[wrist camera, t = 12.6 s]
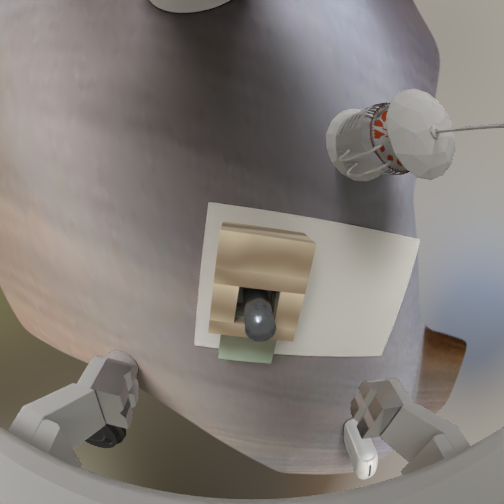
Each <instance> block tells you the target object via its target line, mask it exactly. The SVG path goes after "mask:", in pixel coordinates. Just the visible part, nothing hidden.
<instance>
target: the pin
mask: <svg viewBox="0 0 504 504" xmlns="http://www.w3.org/2000/svg"><path fill="white" fill-rule="evenodd" d="M242 291H243V307H244V322H245V333H246V335H247V336H248V337H249V338H250V339H251V340H253V341H257V342H263V341H267V340H269V339H270V338H272V337H273V336H274V334H275V332H276V323H275V319H274V315H273V312H272V308H271V304H270V300H269V297H268V293H267V290H262V289H254V288H246V287H242Z"/></svg>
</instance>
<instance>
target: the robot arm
mask: <svg viewBox="0 0 504 504" xmlns="http://www.w3.org/2000/svg"><path fill="white" fill-rule="evenodd" d="M228 1H230V0H150V2H151V3H152V4H153V5H155V6H156V7H158V8H160V9H162V10H165V11H169V12H176V13H189V12H198V11H203V10H208V9H211V8H214V7H217V6H220V5H222V4H224V3H226V2H228ZM136 375H137V368H136V365H134V364H130V363H126V362H122V361H118V360H114V359H111V358H106V357H103V356H99V355H95V356H93V358H92V359H91V361H90V362H89V364H88V366H87V367H86V369H85V371H84V373H83V374H82V376H81V378H80V379H79V381H78V383H77V384H75V383H72V384H70V385H68V386H66V387H64V388H62V389H59V390H57V391H55V392H53V393H51V394H49V395H47V396H44V397H42V398H40V399H38V400H36V401H34V402H32V403H29V404H27V405H25V406H23V407H22V409H21V410H20V412H19V414H18V415H17V417H16V418H15V420H14V422H13V423H12V425H11V427H10V428H9V430H8V431H6V430H4V429H3V428H1V427H0V504H504V427H502V428H501V429H499V430H498V431H496V432H494V433H493V434H491V435H490V436H488V437H486V438H485V439H483V440H481V441H479V442H477V443H476V444H474V445H472V446H470V445H469V443H468V441H467V440H466V439H465V437H464V435H463V434H462V432H461V431H460V429H459V428H458V426H456V425H454V424H452V423H450V422H449V421H447V420H445V419H443V418H441V417H440V416H438V415H436V414H435V413H433V412H431V411H429V410H428V409H426V408H424V407H422V406H421V405H419V404H414V402H413V401H412V399H411V398H410V396H409V394H408V393H407V391H406V390H405V388H404V387H403V385H402V384H401V382H400V381H399V380H398V379H397V378H391V379H382V380H372V381H364V382H363V383H361V385H360V387H359V391H360V392H359V393H358V394H357V395H355V396H354V398H353V400H352V402H351V414H352V417H353V419H355V420H356V421H358V424H357V429H358V431H359V434H360V436H361V439H366V438H372V437H378V436H380V438H381V439H382V440H383V441H385V442H386V443H387V444H388V445H389V446H390V447H392V448H393V449H394V450H395V451H396V452H397V453H399V454H400V455H401V456H402V457H403V458H404V459H406V460H407V461H408V462H409V463H408V464H407V465H406V466H405V467H404V468H403V469H402V471H401V473H402V476H399V477H396V478H393V479H389V480H386V481H383V482H379V483H375V484H371V485H367V486H363V487H359V488H355V489H350V490H345V491H340V492H334V493H328V494H321V495H314V496H306V497H296V498H284V499H259V500H247V499H244V500H243V499H219V498H207V497H198V496H188V495H182V494H176V493H170V492H164V491H159V490H154V489H149V488H145V487H140V486H136V485H132V484H128V483H125V482H121V481H118V480H114V479H111V478H108V477H105V476H102V475H99V474H96V473H93V472H90V471H87V470H85V469H82V468H81V465H82V463H81V461H80V460H79V458H78V457H77V455H76V454H75V452H74V450H73V449H74V448H76V447H77V446H78V445H80V444H81V443H82V442H84V441H85V440H86V439H88V438H89V437H90V436H92V435H93V434H94V433H96V432H97V431H98V430H100V429H101V428H102V427H104V426H105V425H106V424H110V425H114V426H118V427H122V428H126V429H129V426H130V423H131V419H132V417H133V413H132V408H134V407H135V406H136V404H137V401H138V396H139V382H138V381H137V380H136Z"/></svg>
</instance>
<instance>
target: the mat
mask: <svg viewBox="0 0 504 504" xmlns="http://www.w3.org/2000/svg"><path fill="white" fill-rule="evenodd" d="M223 221H226V222H233V223H241V224H248V225H254V226H261V227H268V228H275V229H281V230H288V231H294V232H301V233H305V234H306V235H307V236H308V237H309V238H310V239H312V240H313V241H314V242H315V243H316V248H315V253H314V257H313V262H312V266H311V271H310V275H309V280H308V284H307V288H306V292H305V296H304V301H303V305H302V309H301V313H300V316H299V320H298V324H297V328H296V332H295V336H294V339H293V341H280V340H277V342H276V346H275V350H274V354H282V355H300V356H332V357H364V356H381V355H382V353H383V350H384V348H385V346H386V343H387V341H388V338H389V336H390V333H391V331H392V328H393V326H394V323H395V320H396V318H397V315H398V312H399V310H400V307H401V304H402V301H403V298H404V295H405V292H406V289H407V286H408V283H409V279H410V276H411V273H412V269H413V266H414V262H415V259H416V255H417V251H418V247H419V243H420V239H417V238H413V237H408V236H404V235H399V234H394V233H390V232H385V231H380V230H375V229H370V228H365V227H360V226H355V225H350V224H345V223H339V222H334V221H329V220H323V219H317V218H312V217H306V216H300V215H294V214H288V213H282V212H276V211H269V210H263V209H256V208H250V207H243V206H236V205H229V204H221V203H214V202H208V210H207V218H206V226H205V234H204V242H203V251H202V261H201V270H200V280H199V291H198V302H197V314H196V327H195V341H194V345H196V346H203V347H211V348H218V349H219V343H220V335H221V334H213V333H208V330H209V320H210V310H211V301H212V292H213V283H214V275H215V266H216V258H217V250H218V242H219V235H220V229H221V226H222V222H223ZM267 293H268V297H269V299H270V294H271V290H267ZM237 302H239V303H243V291H242V287H239V292H238V299H237Z"/></svg>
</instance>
